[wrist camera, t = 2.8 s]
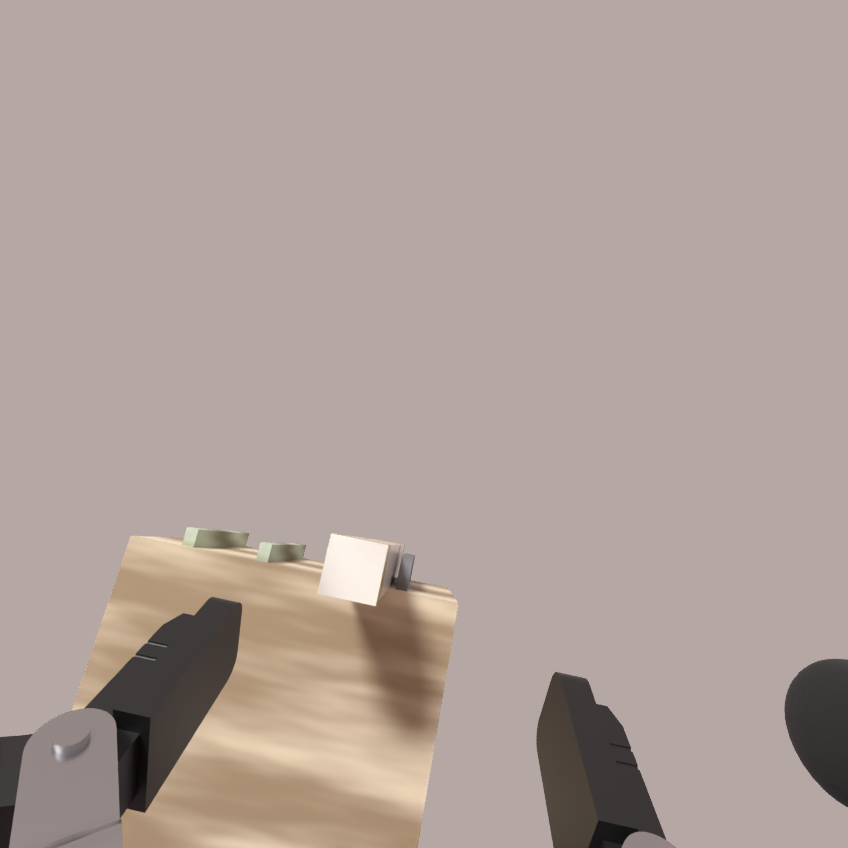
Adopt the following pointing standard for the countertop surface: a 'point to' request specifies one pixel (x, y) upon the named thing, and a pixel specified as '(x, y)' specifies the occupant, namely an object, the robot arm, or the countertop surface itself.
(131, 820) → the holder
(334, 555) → the white bar
